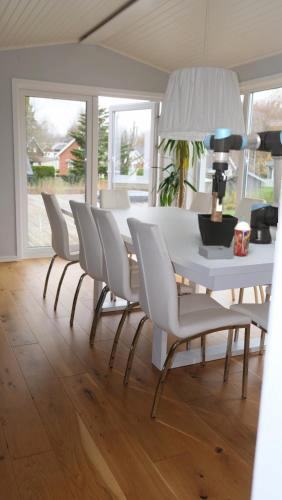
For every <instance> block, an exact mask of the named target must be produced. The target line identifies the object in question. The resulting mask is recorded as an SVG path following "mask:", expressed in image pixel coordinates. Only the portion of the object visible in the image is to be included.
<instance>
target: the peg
mask: <svg viewBox="0 0 282 500" xmlns="http://www.w3.org/2000/svg"><path fill="white" fill-rule="evenodd" d="M216 196H218V192H213V195H212V197H211V198H212V200H211V213H210V214H211V221H216V222H222V214H223V207H224V206H223V205H224V201H223V202H222V211H216V203H217V197H216Z"/></svg>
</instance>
